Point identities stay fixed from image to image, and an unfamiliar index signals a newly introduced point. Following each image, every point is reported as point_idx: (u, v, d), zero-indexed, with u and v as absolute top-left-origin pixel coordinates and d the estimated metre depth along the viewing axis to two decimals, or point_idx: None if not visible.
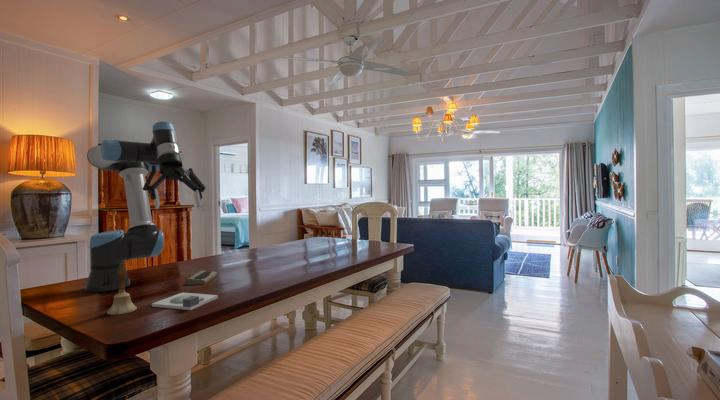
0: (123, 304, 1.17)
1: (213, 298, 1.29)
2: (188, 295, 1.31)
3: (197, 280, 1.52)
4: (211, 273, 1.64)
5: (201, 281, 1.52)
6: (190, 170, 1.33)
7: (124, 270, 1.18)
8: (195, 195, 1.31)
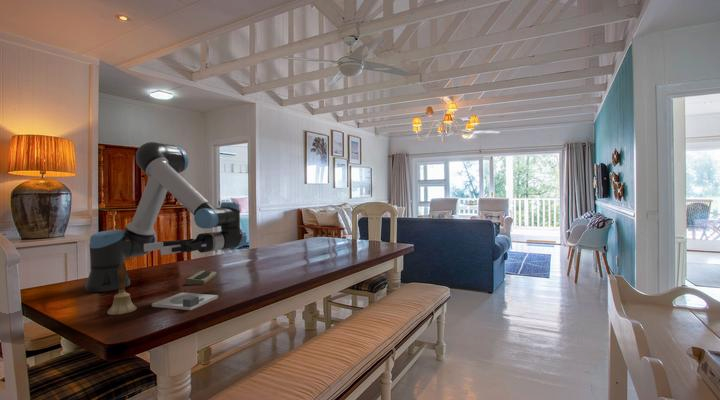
0: (123, 304, 1.17)
1: (213, 298, 1.29)
2: (188, 295, 1.31)
3: (197, 280, 1.52)
4: (211, 273, 1.64)
5: (201, 281, 1.52)
6: None
7: (124, 270, 1.18)
8: (159, 245, 1.34)
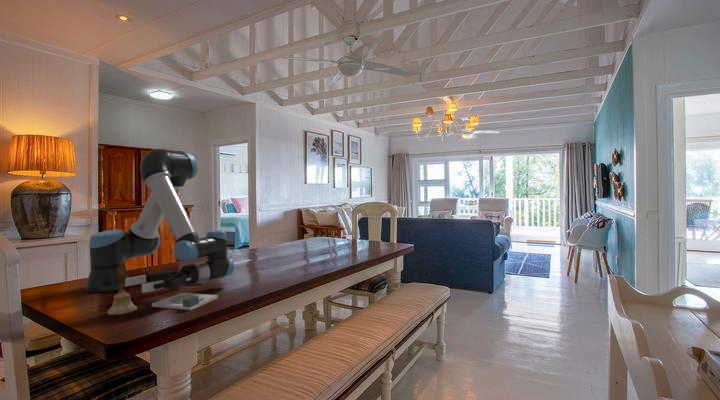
0: (123, 304, 1.17)
1: (213, 298, 1.29)
2: (188, 295, 1.31)
3: None
4: None
5: None
6: None
7: (124, 270, 1.18)
8: (141, 278, 1.28)
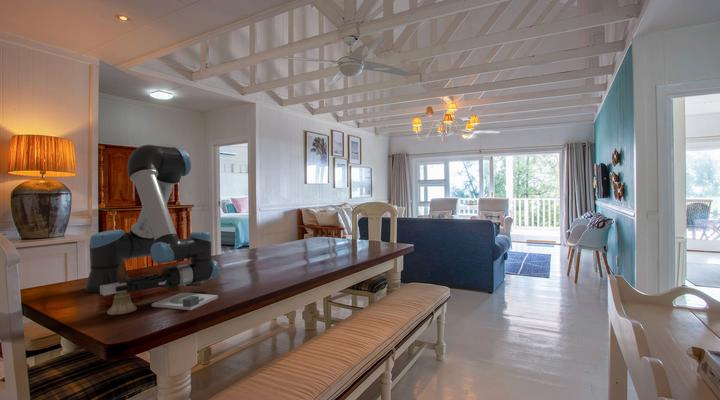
0: (123, 304, 1.17)
1: (213, 298, 1.29)
2: (188, 295, 1.31)
3: None
4: None
5: None
6: None
7: (124, 270, 1.18)
8: None
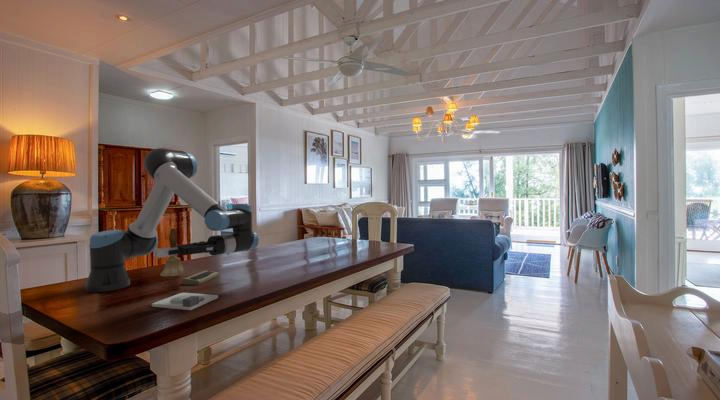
0: (175, 267, 1.22)
1: (213, 298, 1.29)
2: (188, 295, 1.31)
3: (192, 280, 1.52)
4: (211, 273, 1.63)
5: (195, 282, 1.51)
6: None
7: (175, 235, 1.24)
8: None
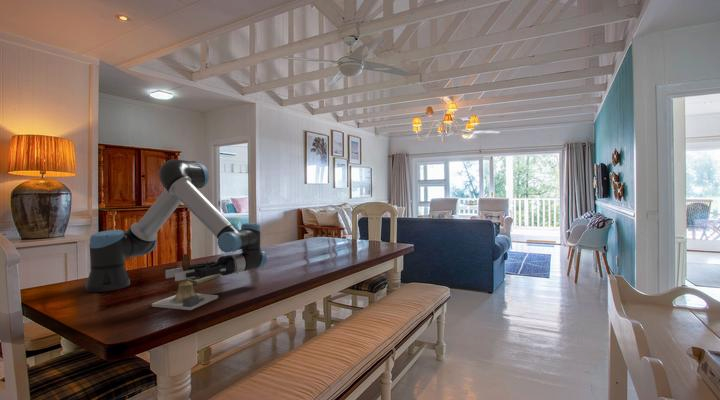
0: (187, 292, 1.25)
1: (213, 298, 1.29)
2: None
3: (190, 280, 1.52)
4: None
5: (193, 282, 1.51)
6: None
7: (188, 261, 1.27)
8: (181, 270, 1.29)
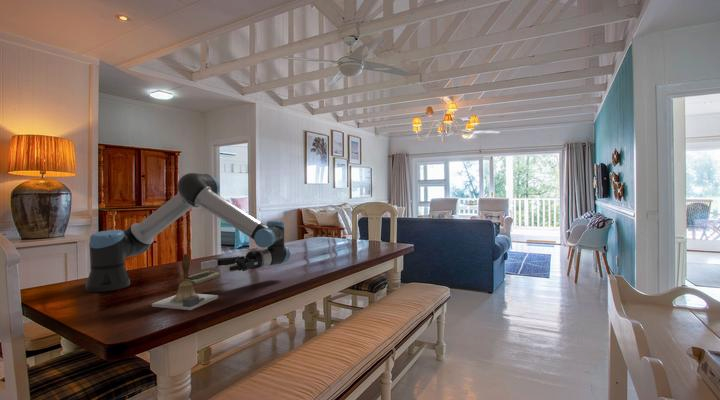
0: (187, 292, 1.25)
1: (213, 298, 1.29)
2: None
3: (188, 280, 1.52)
4: (212, 274, 1.62)
5: (191, 282, 1.51)
6: None
7: (188, 261, 1.27)
8: (214, 263, 1.43)
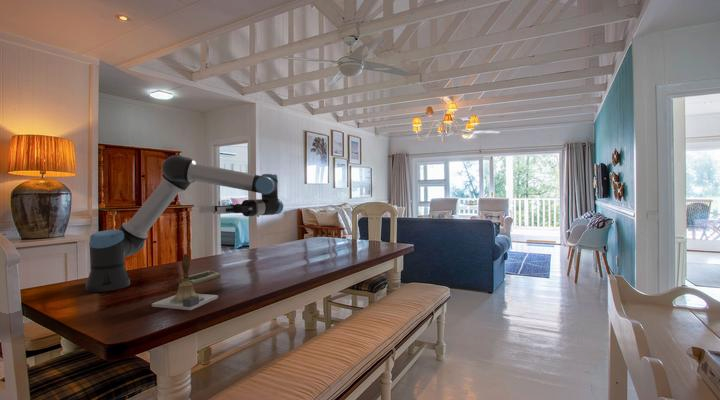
0: (187, 292, 1.25)
1: (213, 298, 1.29)
2: None
3: None
4: (212, 274, 1.62)
5: None
6: None
7: (188, 261, 1.27)
8: (211, 208, 1.53)
